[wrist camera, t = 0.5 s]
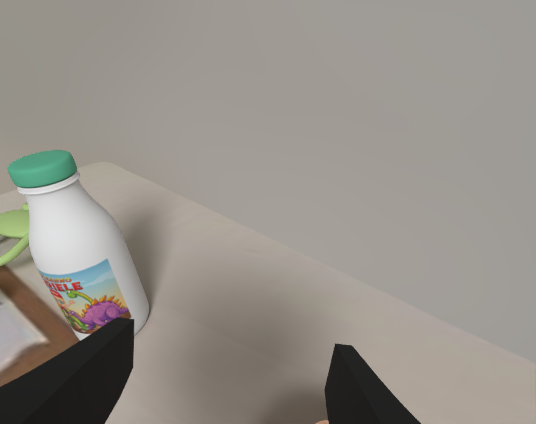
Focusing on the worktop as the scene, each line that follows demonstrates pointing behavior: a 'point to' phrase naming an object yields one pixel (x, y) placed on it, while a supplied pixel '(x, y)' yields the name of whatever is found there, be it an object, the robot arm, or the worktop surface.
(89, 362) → the robot arm
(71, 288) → the milk bottle
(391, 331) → the worktop surface
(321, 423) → the terracotta bowl
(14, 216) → the figurine
